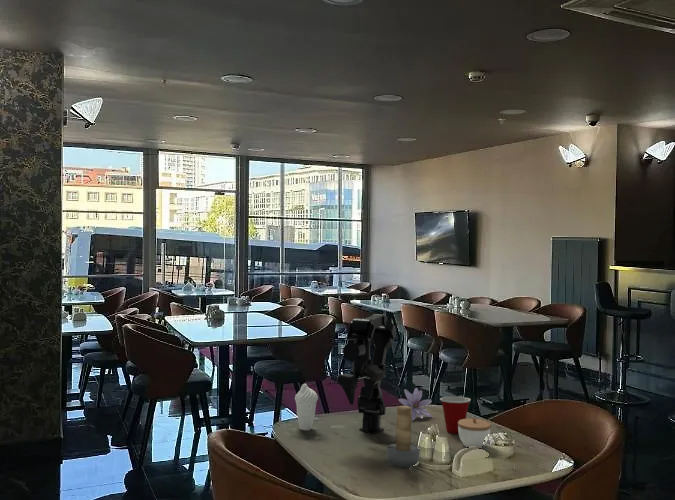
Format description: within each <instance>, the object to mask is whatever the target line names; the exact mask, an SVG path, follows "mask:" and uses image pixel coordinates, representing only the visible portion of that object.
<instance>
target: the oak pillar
mask: <svg viewBox="0 0 675 500" xmlns="http://www.w3.org/2000/svg"><path fill="white" fill-rule="evenodd" d="M411 420H412V408H411V407H408V406H405V405H399V406H397V407H396V434H395V436H396V437H395V444H396V449H397V450H400V451H409V450H410V449H411V445H412V421H411Z"/></svg>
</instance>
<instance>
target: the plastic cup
mask: <svg viewBox="0 0 675 500" xmlns="http://www.w3.org/2000/svg"><path fill="white" fill-rule="evenodd" d="M471 400H472V399H471V398H469V397H466V396H465V397H464V396H443V397H440V398H439V401H441V406H442V411H443V417H444V423H445V429H446V432H447V433H449V434H453V435H456V434H457V435H459V433H458V421H459V420H462V419H467V416H468V415H467V414H468V409H469V405H470V403H471Z"/></svg>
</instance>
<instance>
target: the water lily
mask: <svg viewBox="0 0 675 500" xmlns="http://www.w3.org/2000/svg"><path fill="white" fill-rule="evenodd" d="M403 392H404V395H405V397H406V399H405V398H399V399H398V402H399V403H400V404H402V406H408V407H411V408H412V420H411V422H412V421H415V419H416V416H418V417H419V418H420V419H423V418H424V416H426V417H428V418H430V417H432V418H433V415H432V414H431V412H429V411H428V409H427V408H426V406H428V405H430V404H431V403H432V401H433V400H432V399H423V400H421V399H422V397H423V390H421V389H420V390H419V389H418V388H417V387H415V388H414V391H413V393H411V392H410V391H409V390H408V389H406V388H405V389H404V390H403Z"/></svg>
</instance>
